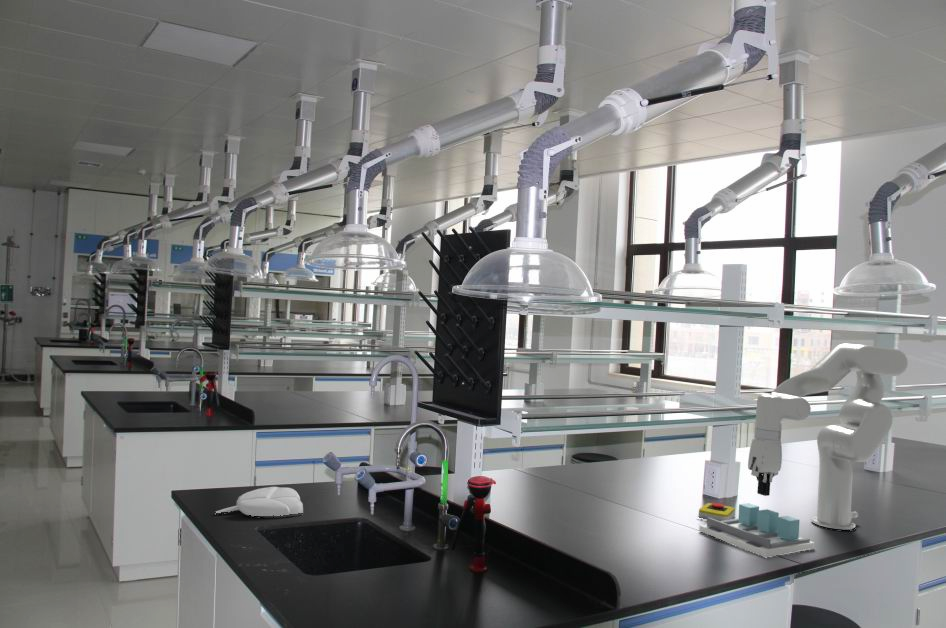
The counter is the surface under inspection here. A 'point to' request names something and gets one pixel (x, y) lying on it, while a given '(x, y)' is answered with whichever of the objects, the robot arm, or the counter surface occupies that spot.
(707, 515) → the emergency button
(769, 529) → the light teal block
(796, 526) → the teal rectangular block
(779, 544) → the white ridged tray
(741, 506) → the teal rectangular block
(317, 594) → the counter surface
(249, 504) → the white computer mouse
